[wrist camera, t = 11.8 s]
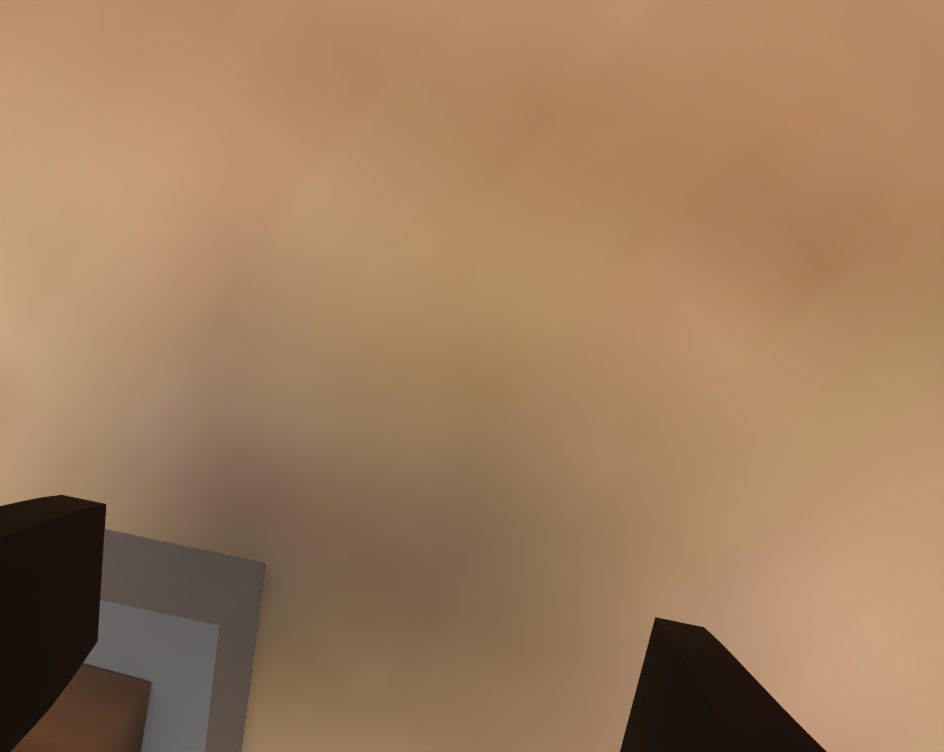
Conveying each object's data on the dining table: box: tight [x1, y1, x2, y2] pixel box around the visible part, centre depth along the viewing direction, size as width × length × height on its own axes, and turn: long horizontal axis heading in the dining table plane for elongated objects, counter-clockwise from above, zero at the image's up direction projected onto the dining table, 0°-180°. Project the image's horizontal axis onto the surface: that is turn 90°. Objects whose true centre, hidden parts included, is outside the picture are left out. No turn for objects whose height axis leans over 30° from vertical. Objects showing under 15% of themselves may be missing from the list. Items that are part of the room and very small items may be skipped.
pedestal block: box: [83, 529, 265, 752], centre depth 21 cm, size 7×7×4 cm
